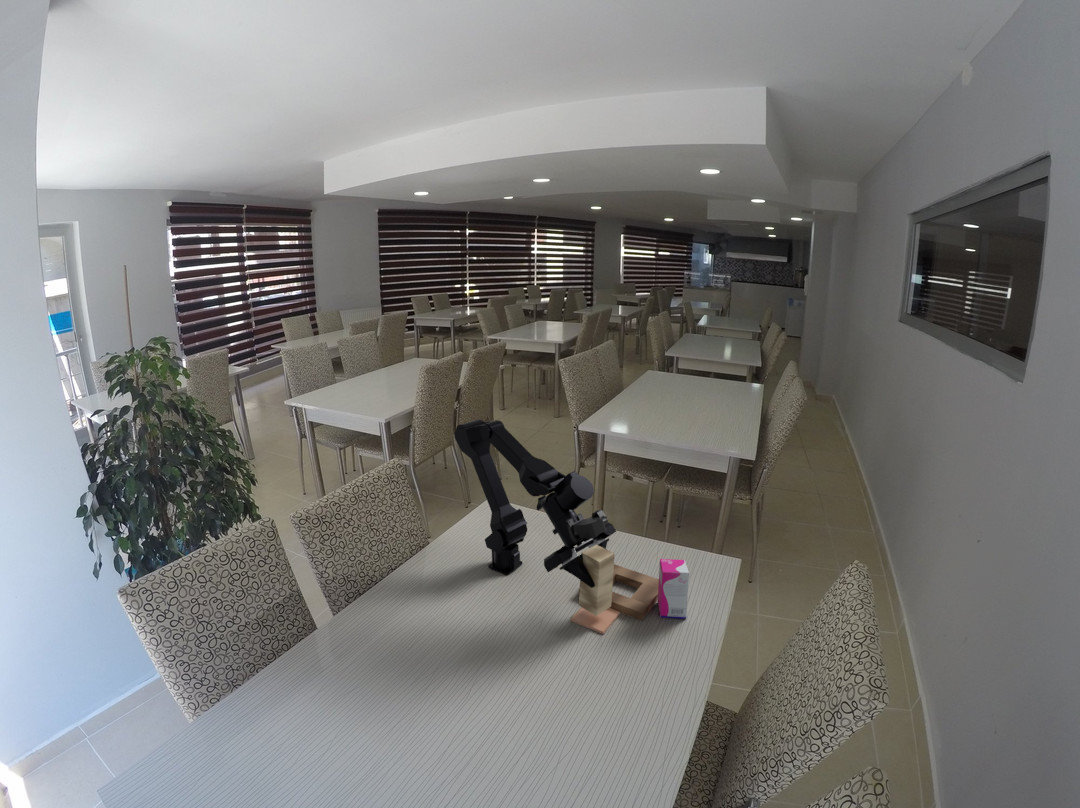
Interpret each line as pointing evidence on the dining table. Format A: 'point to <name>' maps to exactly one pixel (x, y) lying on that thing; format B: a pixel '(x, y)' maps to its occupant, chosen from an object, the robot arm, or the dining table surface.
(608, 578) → the maple block
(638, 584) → the pocket board
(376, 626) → the dining table surface
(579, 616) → the terracotta tile
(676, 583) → the supplement box
